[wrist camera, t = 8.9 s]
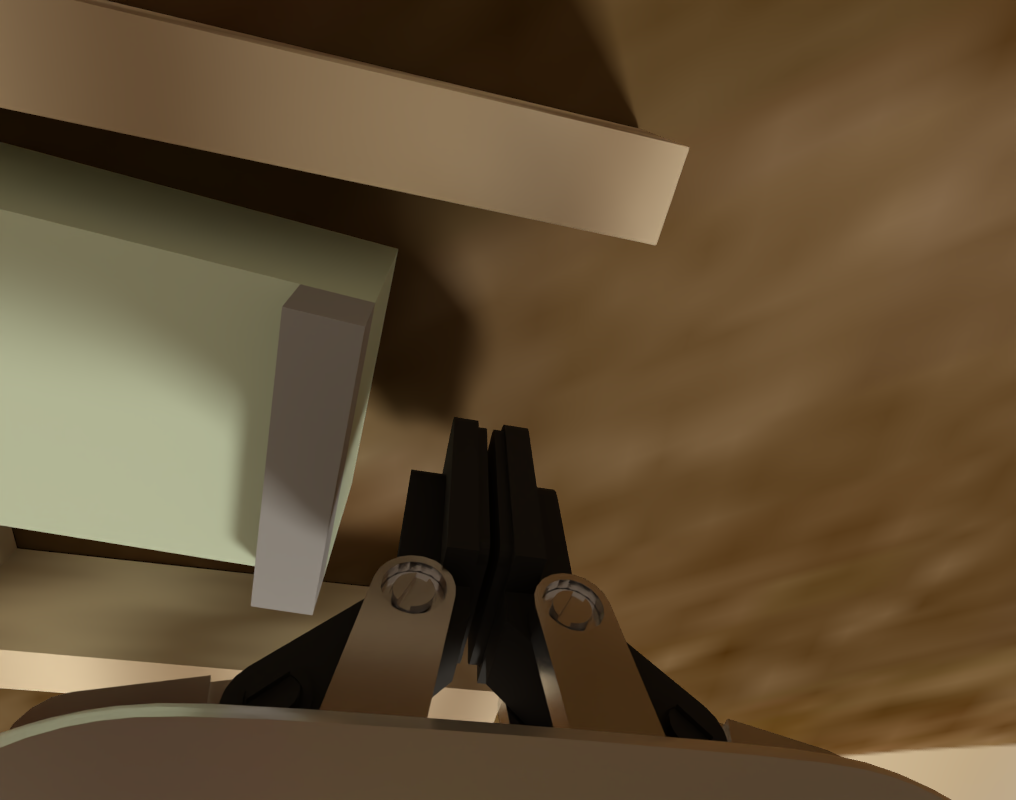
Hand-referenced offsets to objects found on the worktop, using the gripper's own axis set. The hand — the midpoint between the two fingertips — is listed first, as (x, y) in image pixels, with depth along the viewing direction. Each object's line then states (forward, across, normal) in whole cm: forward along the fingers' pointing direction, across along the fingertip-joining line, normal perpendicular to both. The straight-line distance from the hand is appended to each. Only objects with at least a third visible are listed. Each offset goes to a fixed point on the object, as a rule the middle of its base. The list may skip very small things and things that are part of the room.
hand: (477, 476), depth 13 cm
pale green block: (+2, +7, -1) cm, 7 cm away
